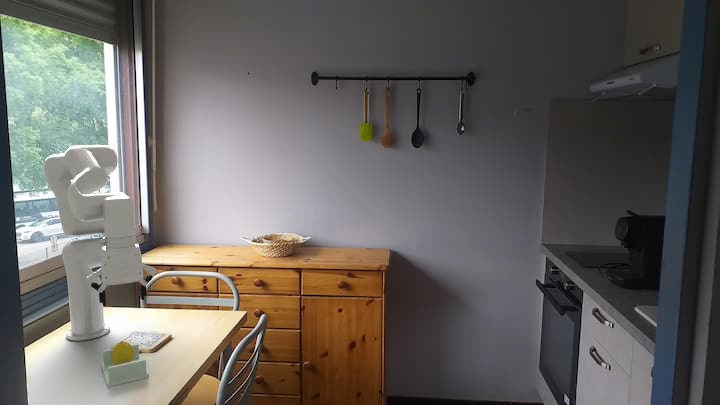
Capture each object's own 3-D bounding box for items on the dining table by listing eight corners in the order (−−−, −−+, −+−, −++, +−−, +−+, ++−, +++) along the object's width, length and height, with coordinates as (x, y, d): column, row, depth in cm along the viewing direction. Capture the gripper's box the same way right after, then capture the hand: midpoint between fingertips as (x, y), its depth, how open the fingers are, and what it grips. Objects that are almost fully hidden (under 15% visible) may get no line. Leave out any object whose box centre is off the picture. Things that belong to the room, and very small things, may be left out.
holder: (102, 367, 135) (100, 351, 134) (140, 359, 140) (139, 342, 140) (107, 387, 124) (106, 369, 123) (148, 377, 130) (147, 359, 129)
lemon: (126, 374, 129) (124, 346, 128) (108, 372, 130) (105, 344, 129) (139, 365, 134) (137, 338, 133) (121, 363, 135) (119, 336, 134)
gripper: (84, 248, 122) (88, 311, 125) (157, 241, 131) (159, 300, 134) (83, 242, 128) (86, 302, 131) (152, 235, 138) (154, 292, 140)
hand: (123, 301), depth 132 cm, fingers open, 9 cm apart
